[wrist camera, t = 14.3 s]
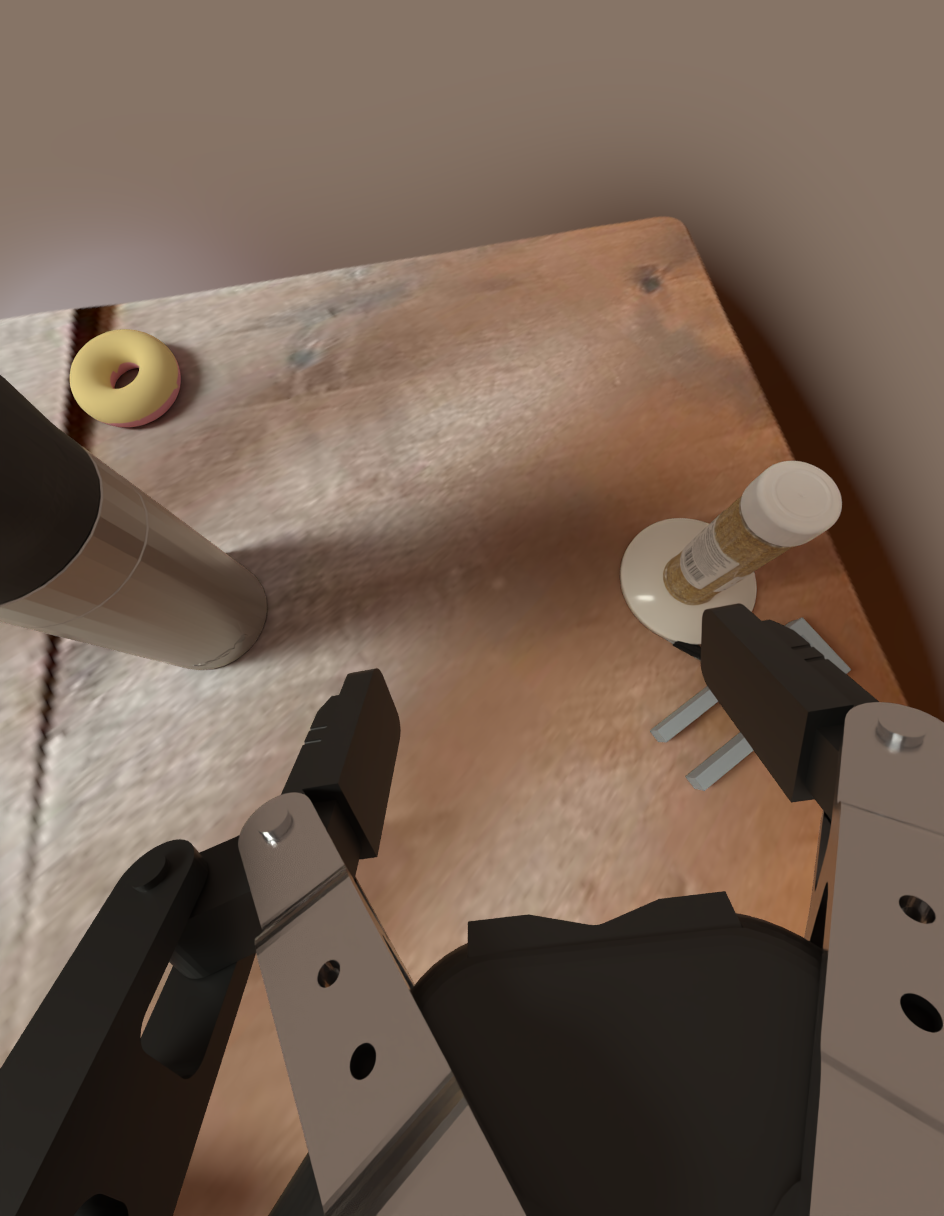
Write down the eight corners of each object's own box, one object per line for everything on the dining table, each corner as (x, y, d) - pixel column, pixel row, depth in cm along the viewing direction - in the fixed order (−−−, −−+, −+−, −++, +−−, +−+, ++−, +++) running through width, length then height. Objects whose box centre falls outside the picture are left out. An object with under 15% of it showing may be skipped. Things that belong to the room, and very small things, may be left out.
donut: (115, 453, 44) (201, 421, 44) (69, 431, 40) (165, 394, 39) (93, 363, 45) (177, 330, 45) (46, 331, 41) (138, 294, 40)
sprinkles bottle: (718, 607, 36) (854, 534, 23) (662, 605, 36) (765, 530, 23) (713, 555, 38) (838, 458, 25) (658, 553, 38) (754, 455, 25)
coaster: (593, 565, 38) (594, 562, 37) (689, 499, 40) (693, 495, 39) (681, 671, 35) (684, 670, 35) (780, 596, 37) (785, 594, 37)
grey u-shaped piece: (649, 730, 34) (657, 730, 33) (789, 622, 37) (802, 617, 35) (694, 788, 33) (704, 790, 32) (835, 672, 35) (851, 669, 34)
